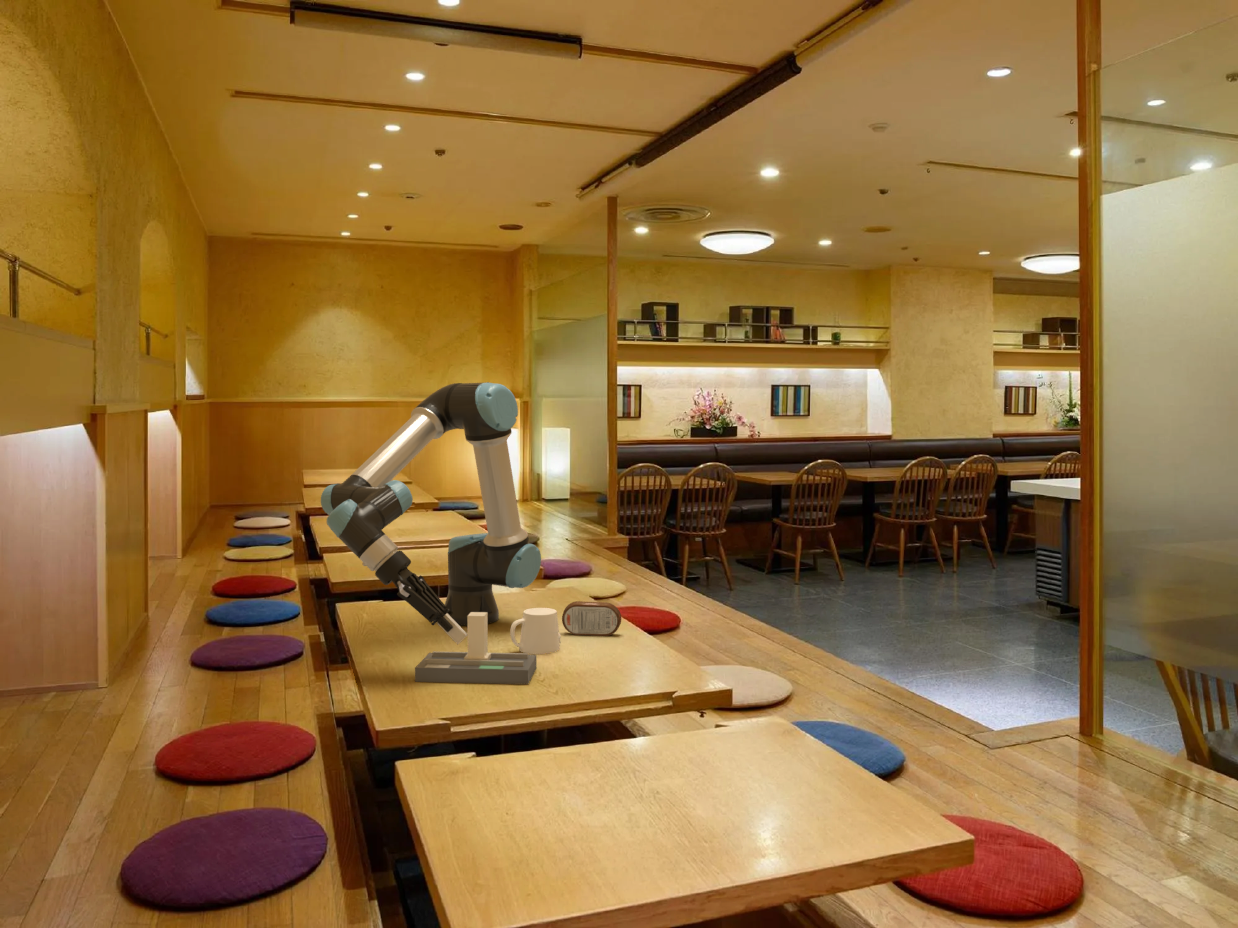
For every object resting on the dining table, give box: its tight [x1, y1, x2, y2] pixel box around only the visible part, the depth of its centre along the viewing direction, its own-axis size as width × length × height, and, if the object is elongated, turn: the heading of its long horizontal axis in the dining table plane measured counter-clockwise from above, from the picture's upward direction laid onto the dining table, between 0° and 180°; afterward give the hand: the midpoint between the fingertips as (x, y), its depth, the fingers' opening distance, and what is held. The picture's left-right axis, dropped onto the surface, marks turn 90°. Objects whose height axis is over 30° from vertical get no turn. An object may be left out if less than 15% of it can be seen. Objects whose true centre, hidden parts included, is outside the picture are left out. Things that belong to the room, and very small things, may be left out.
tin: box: [561, 600, 622, 637], centre depth 241 cm, size 15×3×8 cm, turn 84°
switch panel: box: [414, 650, 537, 685], centre depth 205 cm, size 12×24×4 cm, turn 87°
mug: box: [509, 607, 562, 655], centre depth 225 cm, size 12×9×8 cm
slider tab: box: [464, 612, 492, 660], centre depth 205 cm, size 4×5×10 cm
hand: (462, 639), depth 204 cm, fingers closed
